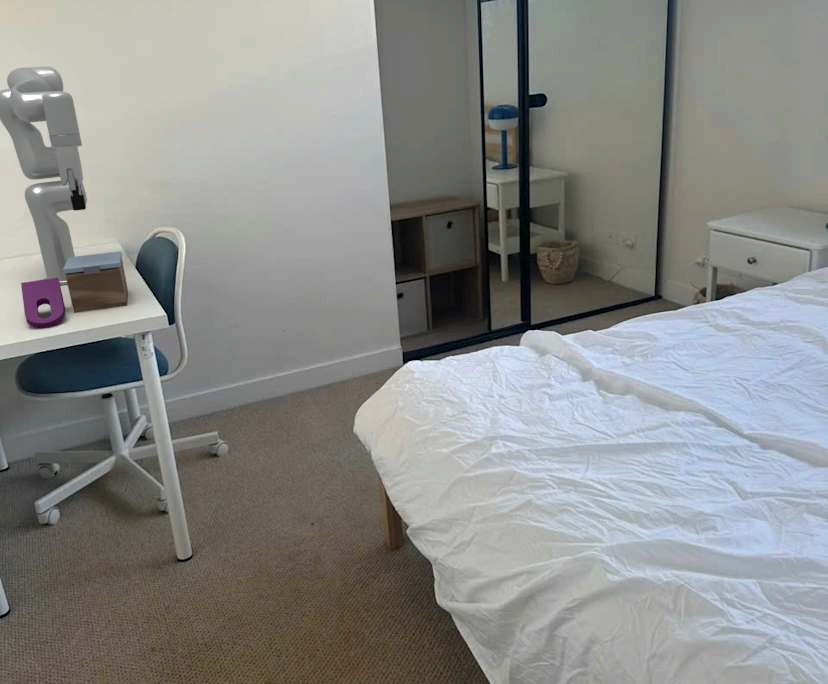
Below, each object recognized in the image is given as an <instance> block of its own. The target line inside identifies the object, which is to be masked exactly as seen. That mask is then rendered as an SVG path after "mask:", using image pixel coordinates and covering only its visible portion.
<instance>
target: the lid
mask: <svg viewBox="0 0 828 684" xmlns="http://www.w3.org/2000/svg"><path fill="white" fill-rule="evenodd" d="M121 260H122V261H123V251H122V250H119V251H112V252H103V253H95V254H85V255H77V256H76V255H75V257H69V258H68V260H67V262H66V264H65V266H64V268H63V273H64V274H66V273H74V272H82V271H84V273H85V275H86V274H95V273H100V269H107V268H115V267H120V265H121Z"/></svg>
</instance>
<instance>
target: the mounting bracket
mask: <svg viewBox="0 0 828 684" xmlns="http://www.w3.org/2000/svg"><path fill="white" fill-rule="evenodd" d="M43 279H44V278H43ZM43 279H40V280H31V281H24V282H21V283H20V285H21V287H20V288H21V295H22V303H23V310H24V311H23V312H24V316H25V319H26V323H27V324H28V326H30V327H31V328H35V329H47V328H48V329H49V328H52V327H56V326H58V325H60V324H61V323H62V322H63V321H64V319H65V317H66V307H65V302H64V297H63V292H62V288H61V285H60V283H59V279H58V278H51V279H44V280H43ZM42 305H48V306H49V307H50V313H51V314H50V316H48V317H47V318H40V312H39V307H41V306H42Z"/></svg>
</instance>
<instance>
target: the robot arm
mask: <svg viewBox="0 0 828 684" xmlns="http://www.w3.org/2000/svg"><path fill="white" fill-rule="evenodd" d="M6 83H7V87H8V88H6V89H1V90H0V122H1V123H2V125H3V127H4V128H5V129H6V131H7V133H8V134H9V137H10V138H11V140H12V143H13V146H14V150H15V154H16V157H17V161H18V163H19V166H20V169H21V171H22V174H23V175H24V176H25V177H26V179H29V180H31V181H32V180H33V181H34V180H46V179H55V178H60V180H55V181H45V182H44V181H43V182H37V183H35V184H31V185H29V186H28V187H26V188H25V190H24V199H25V202H26V205H27V207H28V210H29V213H30V214H31V218H32V221H33V225H34V228H35V233H36V236H37V240H38V244H39V245H38V246H39V248H40V253H41V258H42V262H43V266H44V271H45V276H46V277H44V278H42V280H44V279H51V278H58V279H59V283H60V286H64V285H68V284H67V280H66V274H64V273H63V268H64V266H65V264H66V262H67V260H68V258H69V257H76V255H75V251H74V247H73V241H72V237H71V231H70V228H69V225H68V223H67V222H66V221H65V220H64V219H63V218H62V217H60V216H59V215H58V213H62V212H68V211H84V210H86V208H87V203H88V202H87V200H88V198H87V193H86V189H85V186H84V183H83V180H84V175H83V174H84V173H83V167H82V162H81V158H80V153H79V152H80V151H79V148H78V147H82V146H83V144H82V143H83V142H82V138H81V134H80V133H81V132H80V129H79V124H78V119H77V113H76V108H75V103H74V98H73V96H72V95H71V94H70V93H69V92H65V91H64V82H63V79H62V76H61V75H60V73H59V72H58V70H57V69H55V68H54V67H51V66H33V67H31V66H30V67H18V68H14V69H12V70H11V71H9V73H8V75H7V78H6ZM39 122H46V127H47V131H48V132H47V133H48V137H49V141H50V142H49V143H50V146H46V144H45V142H44V139H43V135H42V133H41V131H40V130H39V128H37V126H35V125H34V124H32V123H39Z"/></svg>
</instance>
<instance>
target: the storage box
mask: <svg viewBox="0 0 828 684" xmlns="http://www.w3.org/2000/svg"><path fill="white" fill-rule="evenodd" d="M66 280H67V284H66V285H67V288H68V292H69V297H70V301H71V306H72V311H73V313H74V314H75V313H82V312H83V313H84V312H90V311H98V310H105V309H112V308H121V307H127V306H128V297H129V288H128V283H127V278H126V273H125V268H124V262H123V259H122V260H121V265H120V267H115V268H107V269H100V273H95V274H86V275H85V273H84V271H82V272H74V273H66Z"/></svg>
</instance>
